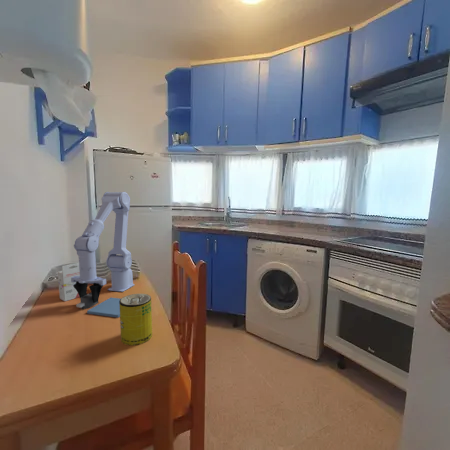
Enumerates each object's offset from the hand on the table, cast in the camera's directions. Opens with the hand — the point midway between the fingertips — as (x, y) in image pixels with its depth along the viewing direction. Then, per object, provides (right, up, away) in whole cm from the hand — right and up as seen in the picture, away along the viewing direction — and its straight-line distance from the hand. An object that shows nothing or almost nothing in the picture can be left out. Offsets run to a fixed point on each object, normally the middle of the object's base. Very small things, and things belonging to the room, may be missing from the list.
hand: (89, 301), depth 103 cm
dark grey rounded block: (0, -2, 0) cm, 2 cm away
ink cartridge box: (-11, -1, +8) cm, 14 cm away
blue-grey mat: (+11, -2, -2) cm, 11 cm away
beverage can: (+26, -5, -23) cm, 35 cm away
